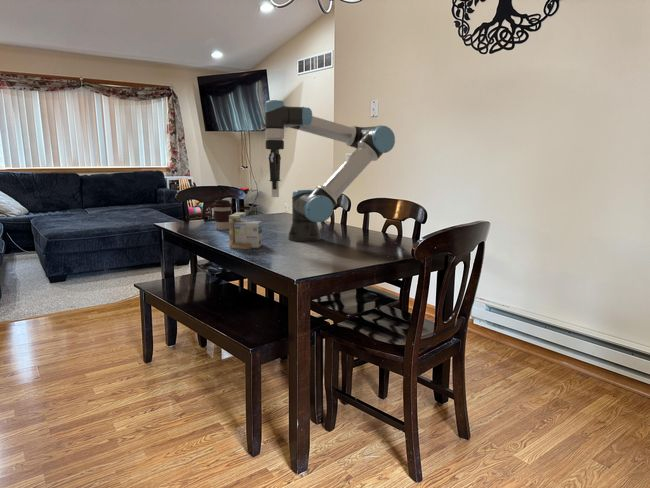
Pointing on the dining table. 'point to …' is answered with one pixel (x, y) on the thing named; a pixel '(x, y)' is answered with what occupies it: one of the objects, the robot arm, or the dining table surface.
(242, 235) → the light bulb box
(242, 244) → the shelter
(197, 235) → the dining table surface
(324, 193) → the robot arm
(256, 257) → the dining table surface
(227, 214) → the coffee cup
